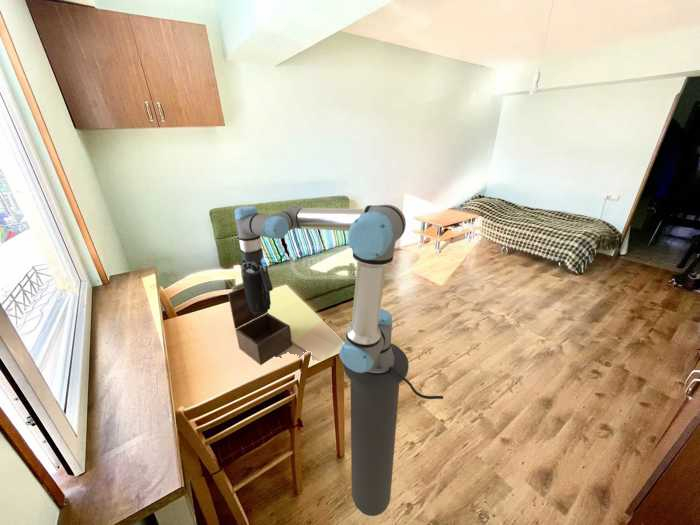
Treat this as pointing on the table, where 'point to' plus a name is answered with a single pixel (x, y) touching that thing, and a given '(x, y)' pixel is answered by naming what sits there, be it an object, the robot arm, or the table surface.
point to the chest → (264, 338)
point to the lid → (240, 306)
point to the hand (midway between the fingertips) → (259, 301)
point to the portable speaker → (254, 291)
